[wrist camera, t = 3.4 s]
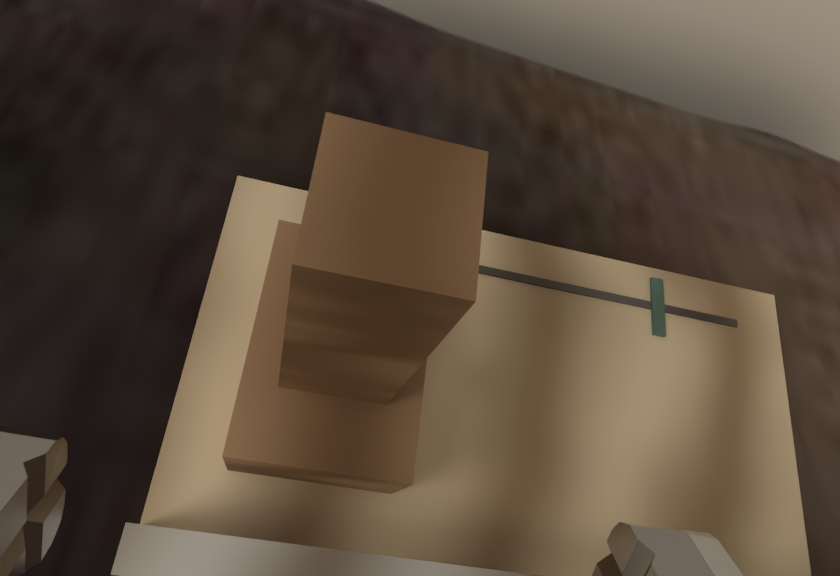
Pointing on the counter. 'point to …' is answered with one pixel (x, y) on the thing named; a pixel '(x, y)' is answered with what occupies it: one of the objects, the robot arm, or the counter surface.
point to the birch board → (498, 428)
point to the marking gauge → (359, 308)
